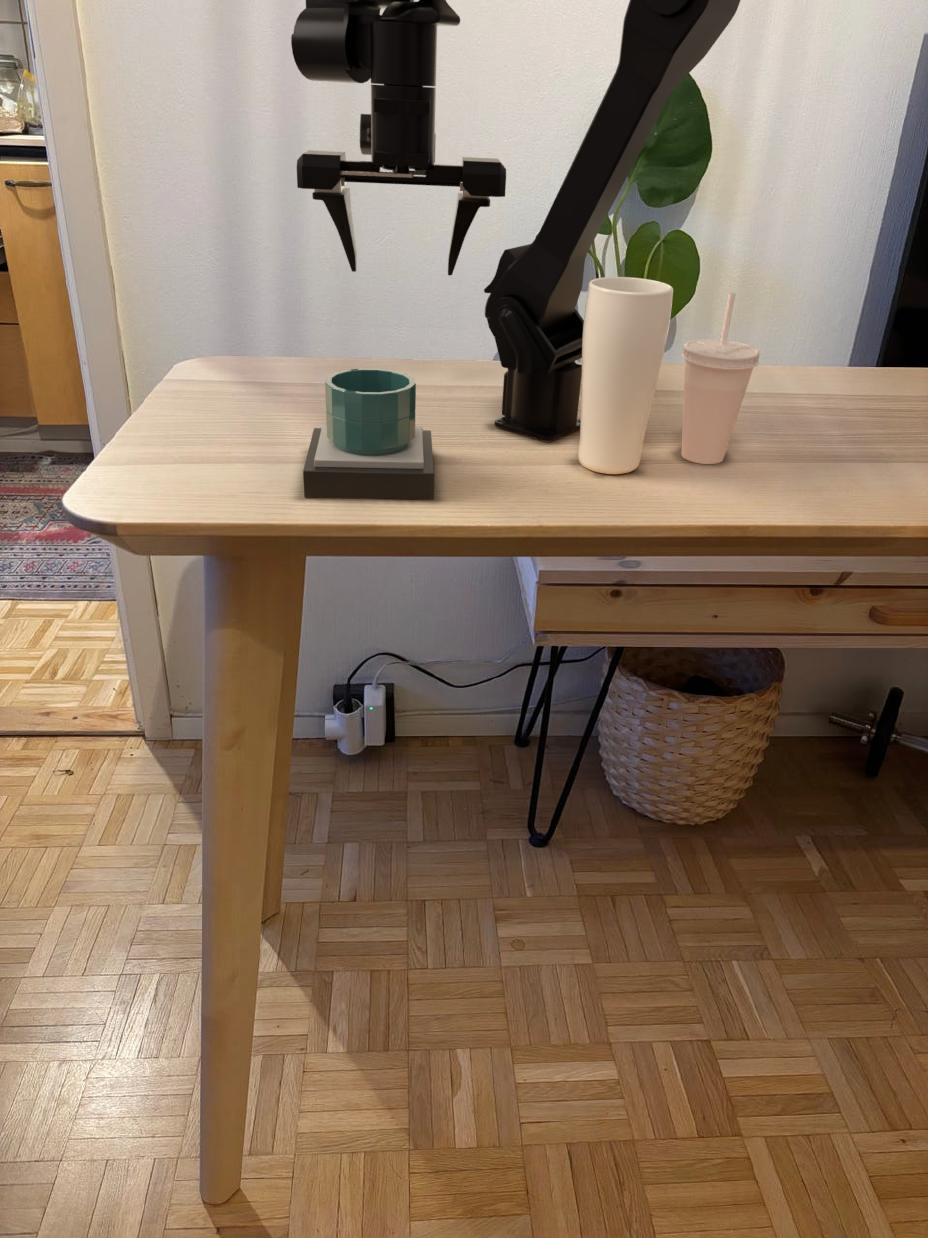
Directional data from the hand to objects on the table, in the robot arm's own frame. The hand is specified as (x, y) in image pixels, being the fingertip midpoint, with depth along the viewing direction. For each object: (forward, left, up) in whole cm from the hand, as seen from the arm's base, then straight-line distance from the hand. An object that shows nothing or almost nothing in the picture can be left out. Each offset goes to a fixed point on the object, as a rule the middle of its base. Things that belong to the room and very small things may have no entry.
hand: (402, 272), depth 89 cm
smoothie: (-31, -6, -12) cm, 34 cm away
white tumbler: (-26, +2, -12) cm, 29 cm away
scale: (-13, +18, -12) cm, 25 cm away
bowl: (-13, +18, -9) cm, 24 cm away
